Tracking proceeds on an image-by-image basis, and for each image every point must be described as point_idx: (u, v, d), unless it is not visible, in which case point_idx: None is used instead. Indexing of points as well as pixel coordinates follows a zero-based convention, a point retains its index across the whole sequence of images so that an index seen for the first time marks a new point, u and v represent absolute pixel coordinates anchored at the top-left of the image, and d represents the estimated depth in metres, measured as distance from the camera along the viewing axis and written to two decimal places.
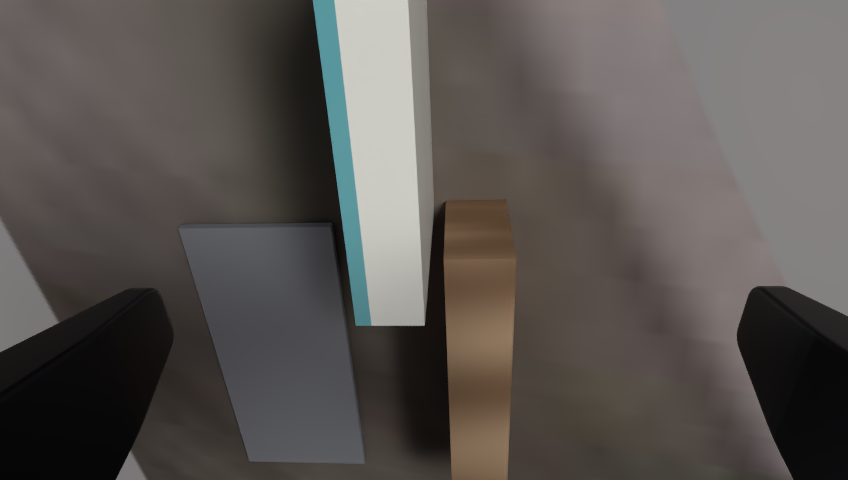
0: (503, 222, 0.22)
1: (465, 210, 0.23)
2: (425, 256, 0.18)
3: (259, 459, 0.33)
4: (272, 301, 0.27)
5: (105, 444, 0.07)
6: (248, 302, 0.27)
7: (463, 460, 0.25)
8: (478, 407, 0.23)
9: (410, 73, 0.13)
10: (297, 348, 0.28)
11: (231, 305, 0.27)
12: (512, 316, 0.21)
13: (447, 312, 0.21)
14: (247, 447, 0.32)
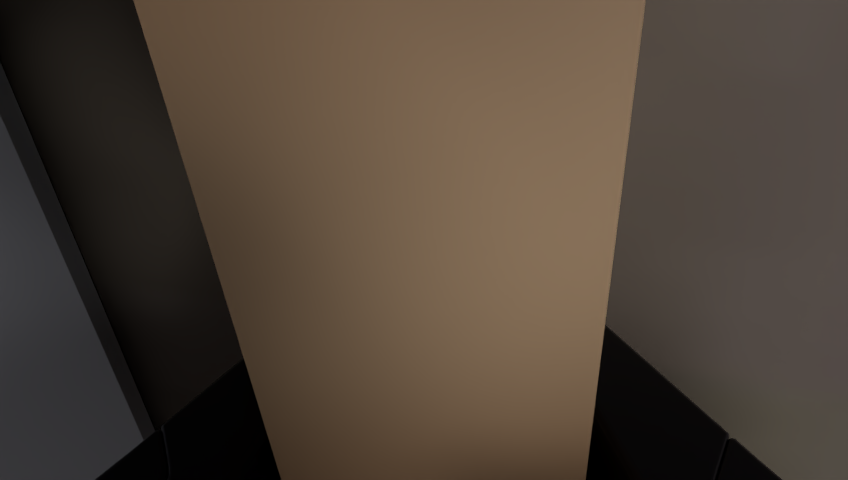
0: None
1: None
2: None
3: None
4: None
5: None
6: None
7: None
8: None
9: None
10: None
11: None
12: (626, 67, 0.03)
13: (162, 52, 0.03)
14: None
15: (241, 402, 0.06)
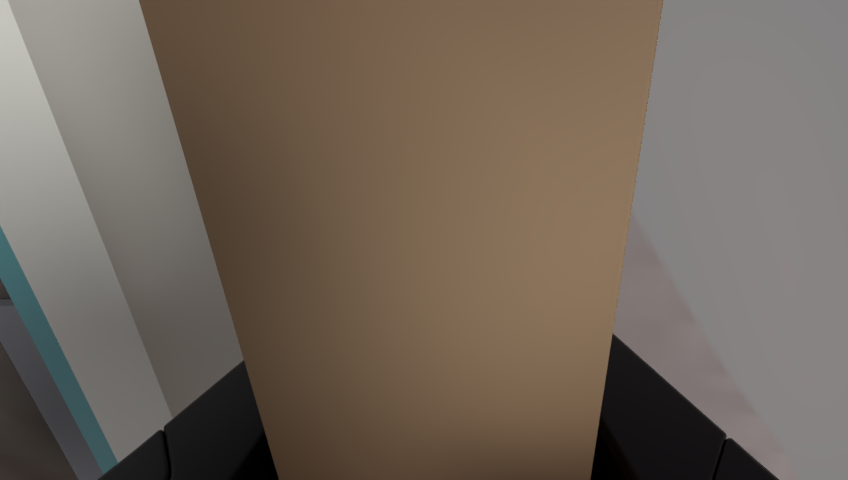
0: None
1: None
2: (211, 383, 0.13)
3: None
4: None
5: None
6: None
7: None
8: None
9: (74, 172, 0.09)
10: None
11: None
12: (641, 68, 0.03)
13: (165, 47, 0.03)
14: None
15: (243, 402, 0.06)
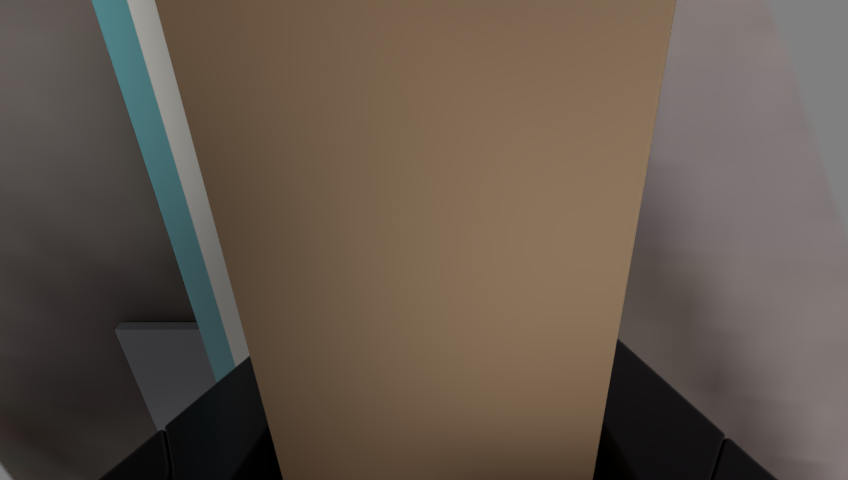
0: None
1: None
2: None
3: None
4: None
5: None
6: None
7: None
8: None
9: None
10: None
11: None
12: (652, 72, 0.03)
13: (179, 44, 0.03)
14: None
15: (244, 402, 0.06)
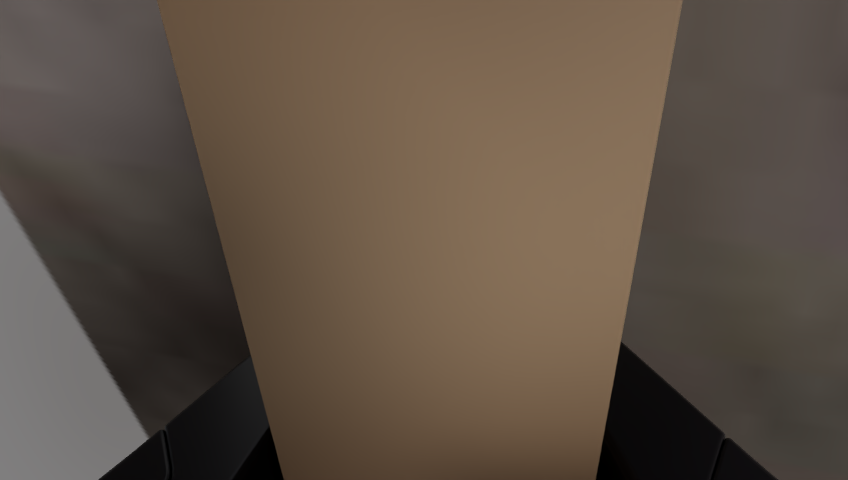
0: None
1: None
2: None
3: None
4: None
5: None
6: None
7: None
8: None
9: None
10: None
11: None
12: (660, 59, 0.03)
13: (178, 31, 0.03)
14: None
15: (244, 402, 0.05)
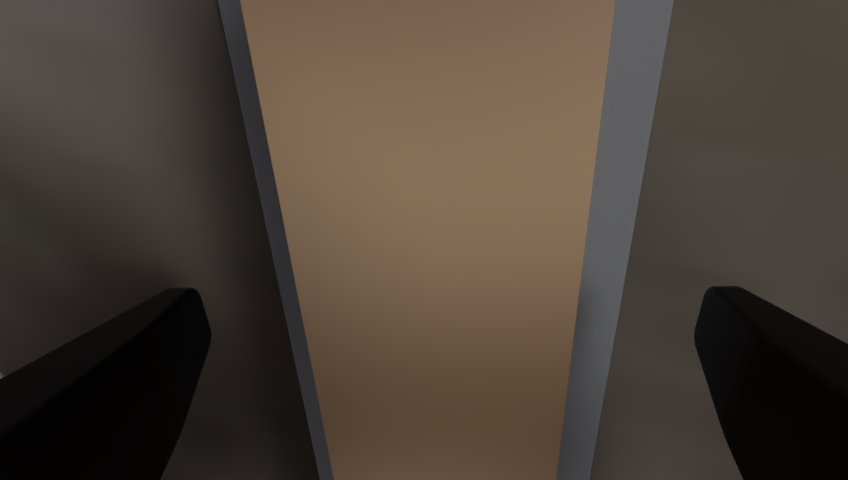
0: None
1: None
2: None
3: None
4: None
5: (150, 445, 0.07)
6: None
7: None
8: (437, 475, 0.06)
9: None
10: None
11: None
12: (603, 28, 0.04)
13: (251, 8, 0.04)
14: (321, 461, 0.14)
15: (10, 399, 0.06)
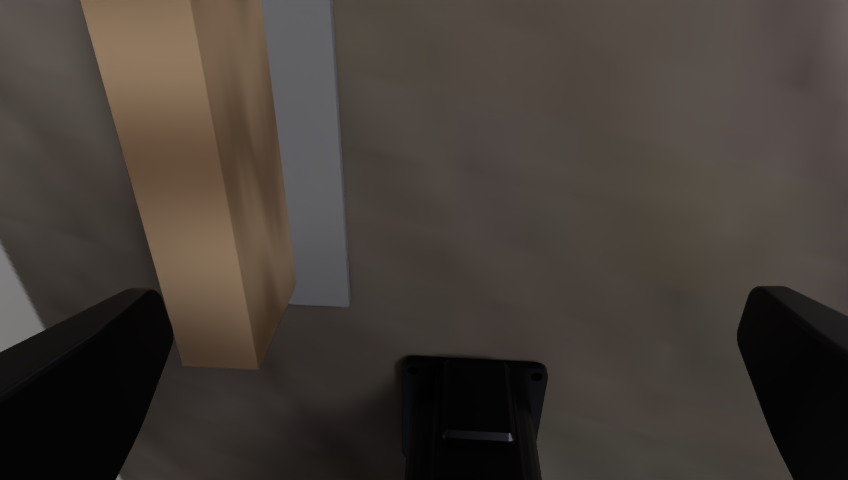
0: None
1: None
2: None
3: None
4: None
5: (105, 444, 0.07)
6: None
7: (179, 293, 0.17)
8: (177, 193, 0.15)
9: None
10: None
11: None
12: (188, 3, 0.13)
13: None
14: None
15: None
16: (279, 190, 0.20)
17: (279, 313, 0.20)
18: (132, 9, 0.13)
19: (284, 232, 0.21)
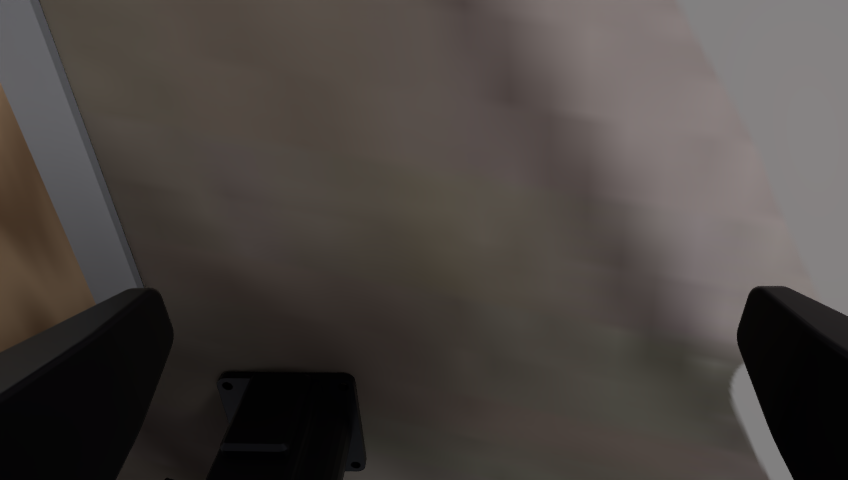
0: None
1: None
2: None
3: None
4: None
5: (105, 444, 0.07)
6: None
7: None
8: None
9: None
10: None
11: None
12: None
13: None
14: None
15: None
16: (48, 225, 0.21)
17: None
18: None
19: (65, 263, 0.22)
